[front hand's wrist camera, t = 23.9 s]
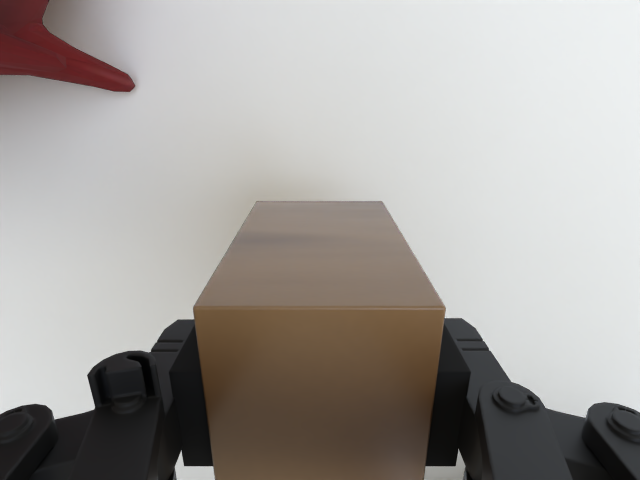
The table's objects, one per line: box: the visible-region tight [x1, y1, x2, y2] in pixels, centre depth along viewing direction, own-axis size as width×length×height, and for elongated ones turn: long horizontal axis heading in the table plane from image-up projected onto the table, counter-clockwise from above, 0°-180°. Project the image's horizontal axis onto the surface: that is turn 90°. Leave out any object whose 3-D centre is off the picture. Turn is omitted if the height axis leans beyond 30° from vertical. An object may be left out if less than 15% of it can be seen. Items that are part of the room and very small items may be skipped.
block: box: [193, 201, 446, 480], centre depth 12 cm, size 6×5×8 cm
